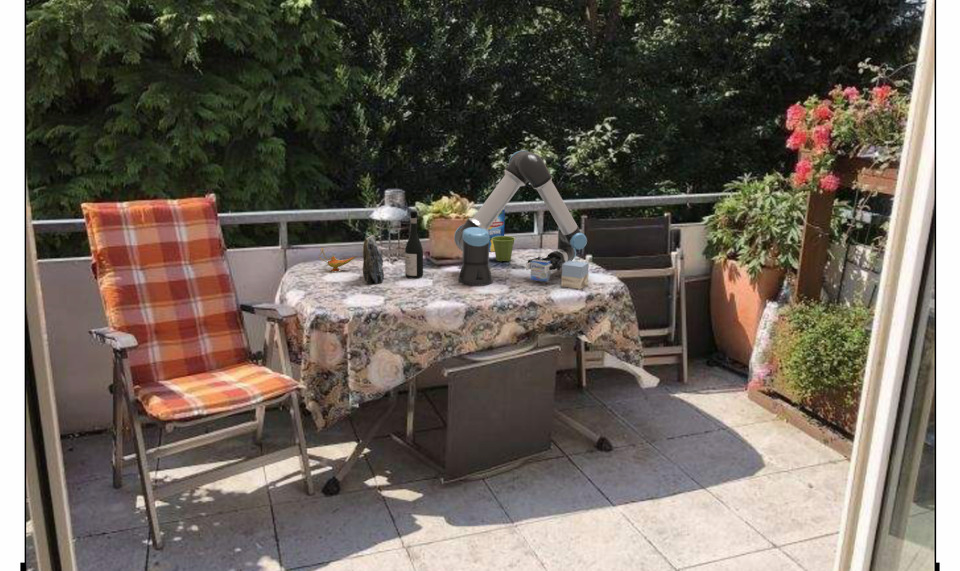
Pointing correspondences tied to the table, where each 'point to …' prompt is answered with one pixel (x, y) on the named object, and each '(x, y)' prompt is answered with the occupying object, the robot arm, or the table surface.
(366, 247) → the stone block
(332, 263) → the magic lamp
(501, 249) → the plant pot
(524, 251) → the table surface
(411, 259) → the wine bottle
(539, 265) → the medicine box
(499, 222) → the beverage box
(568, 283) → the tower base block
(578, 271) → the tower top block
